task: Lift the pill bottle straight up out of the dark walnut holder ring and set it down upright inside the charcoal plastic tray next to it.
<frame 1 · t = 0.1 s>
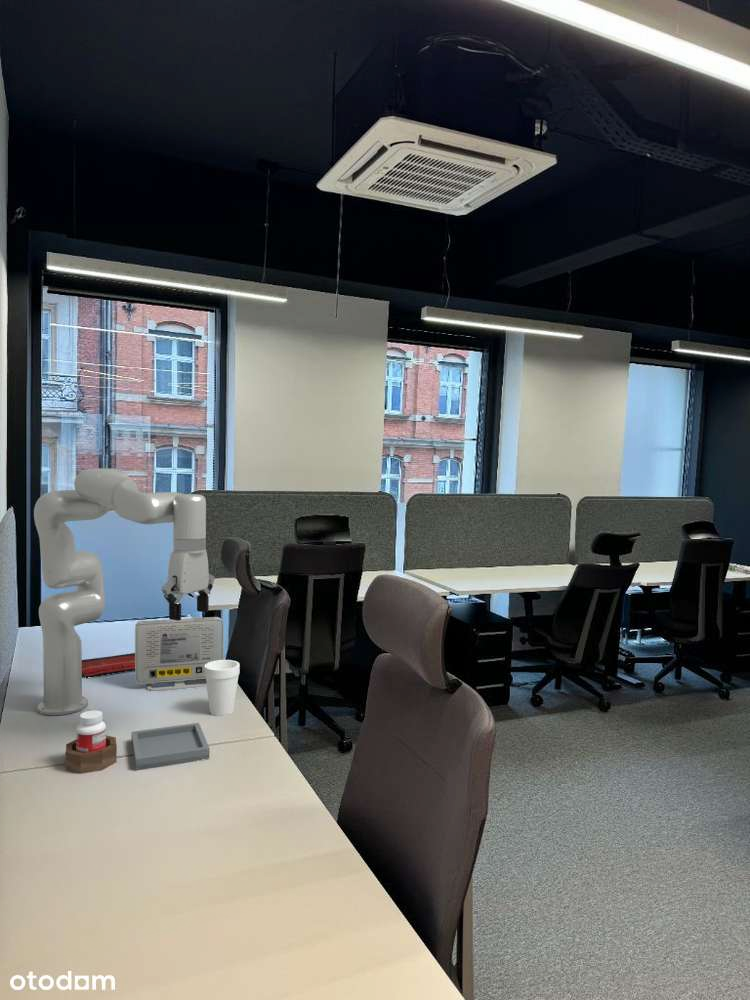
hand: (189, 615, 159), 31 cm above the table, tool pointing down, fingers open, 9 cm apart
tray: (169, 750, 156), on the table
holder ring: (91, 761, 149), on the table
foam cup: (221, 712, 180), on the table
binder: (113, 669, 217), on the table
pill bottle: (91, 762, 149), resting in holder ring
network device: (179, 685, 201), on the table
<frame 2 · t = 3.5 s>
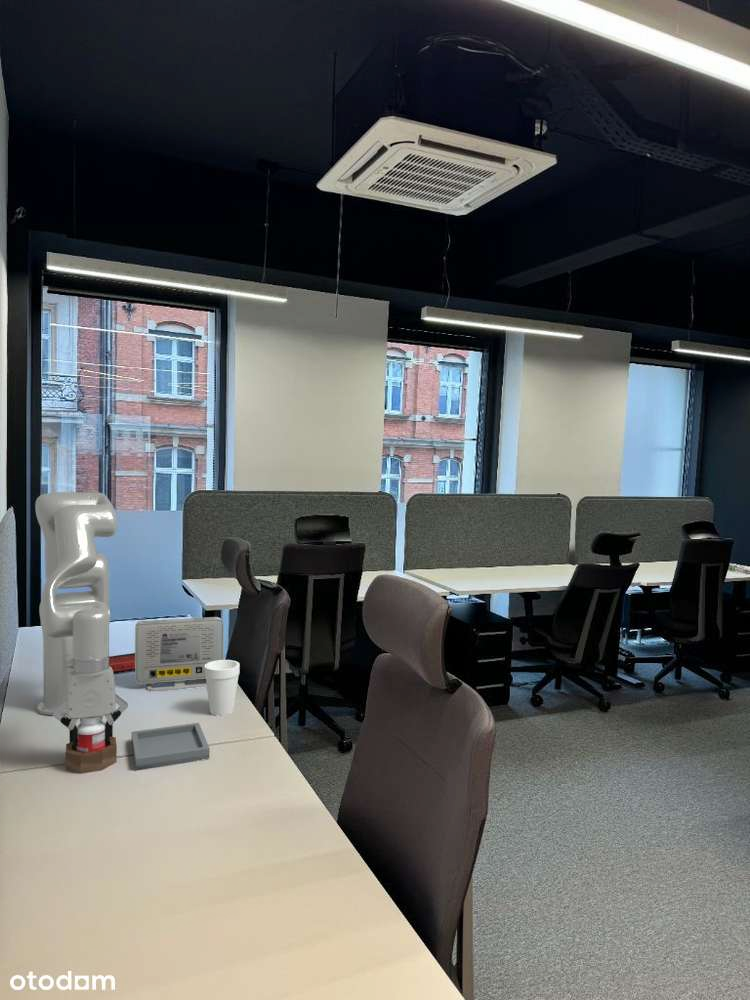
hand: (91, 741, 149), 5 cm above the table, tool pointing down, fingers closed on pill bottle, 6 cm apart
pill bottle: (91, 762, 149), resting in holder ring, touching gripper
everything else where it was.
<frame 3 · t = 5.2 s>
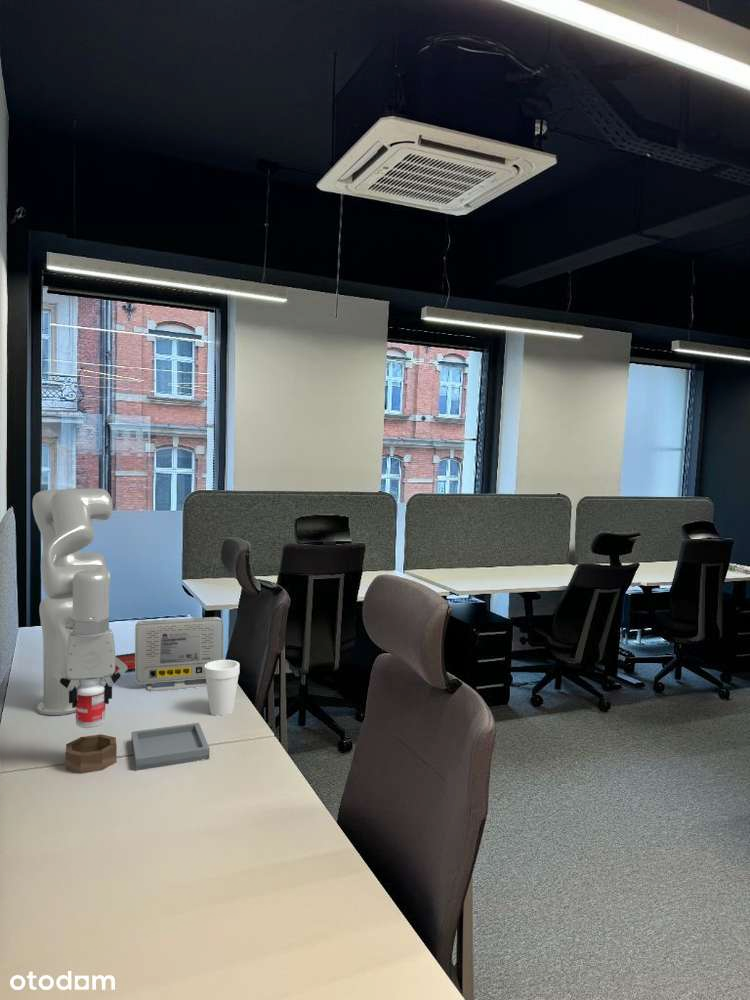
hand: (90, 703, 149), 13 cm above the table, tool pointing down, fingers closed on pill bottle, 6 cm apart
pill bottle: (90, 723, 149), point 8 cm above the table, touching gripper
everything else where it was.
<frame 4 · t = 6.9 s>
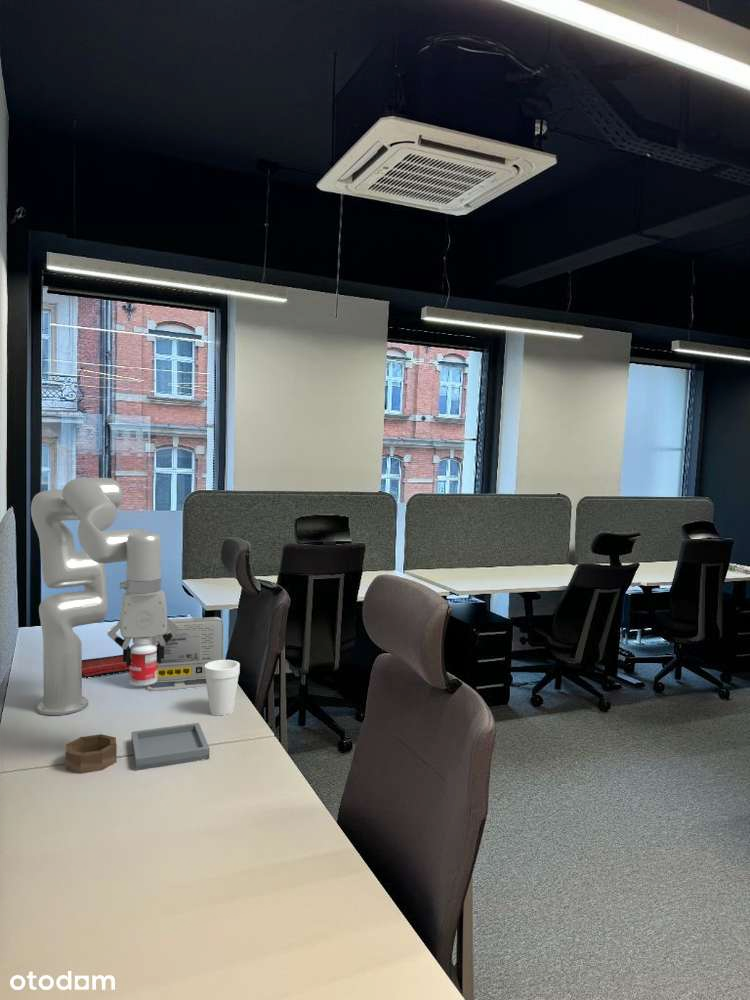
hand: (143, 662, 152), 22 cm above the table, tool pointing down, fingers closed on pill bottle, 6 cm apart
pill bottle: (143, 683, 152), point 17 cm above the table, touching gripper
everything else where it was.
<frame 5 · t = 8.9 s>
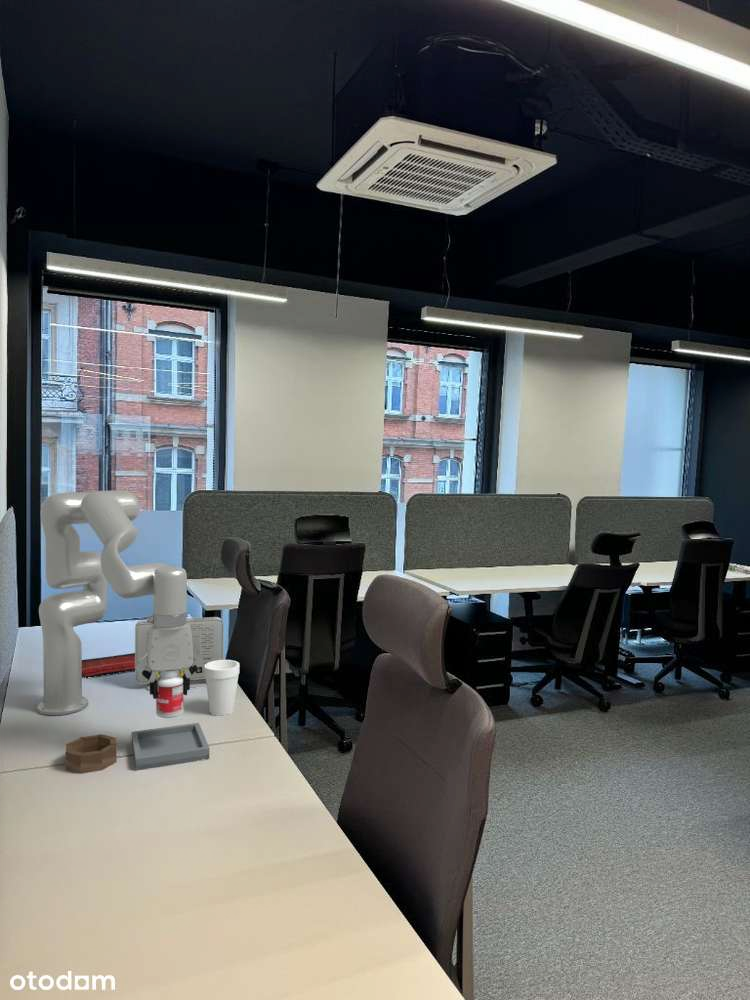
hand: (169, 694, 155), 13 cm above the table, tool pointing down, fingers closed on pill bottle, 6 cm apart
pill bottle: (169, 714, 155), point 9 cm above the table, touching gripper
everything else where it was.
when the fingers open (7 cm above the table, at t = 10.6 s): pill bottle drops 1 cm, resting on tray.
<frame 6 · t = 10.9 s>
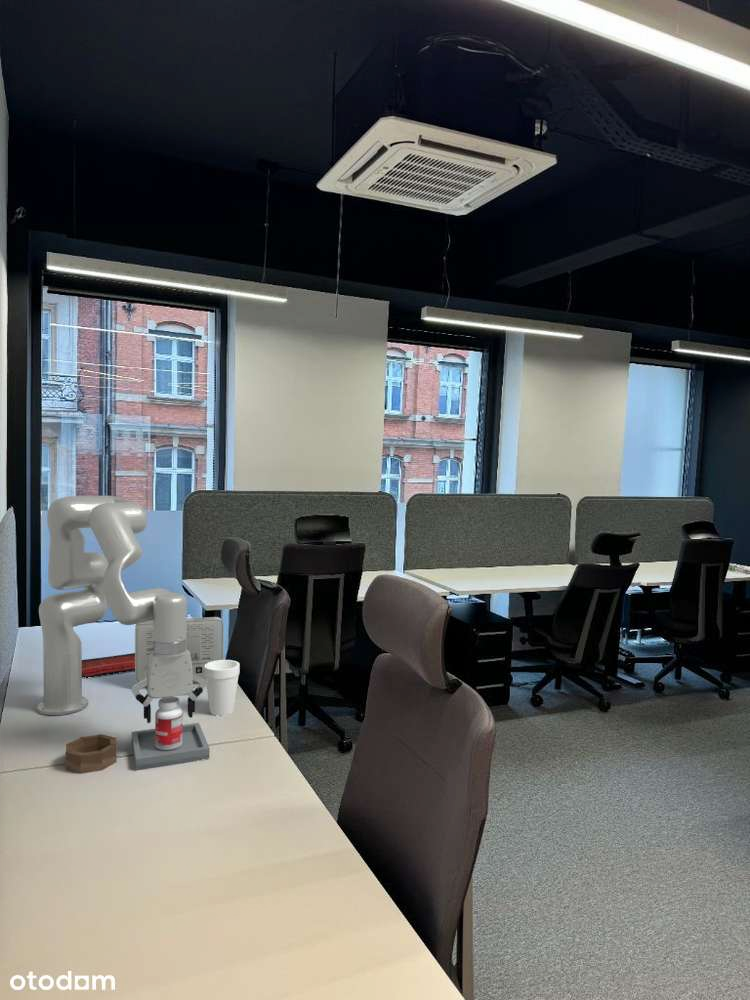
hand: (169, 718, 155), 8 cm above the table, tool pointing down, fingers open, 9 cm apart
pill bottle: (169, 746, 156), point 1 cm above the table, touching tray
everything else where it was.
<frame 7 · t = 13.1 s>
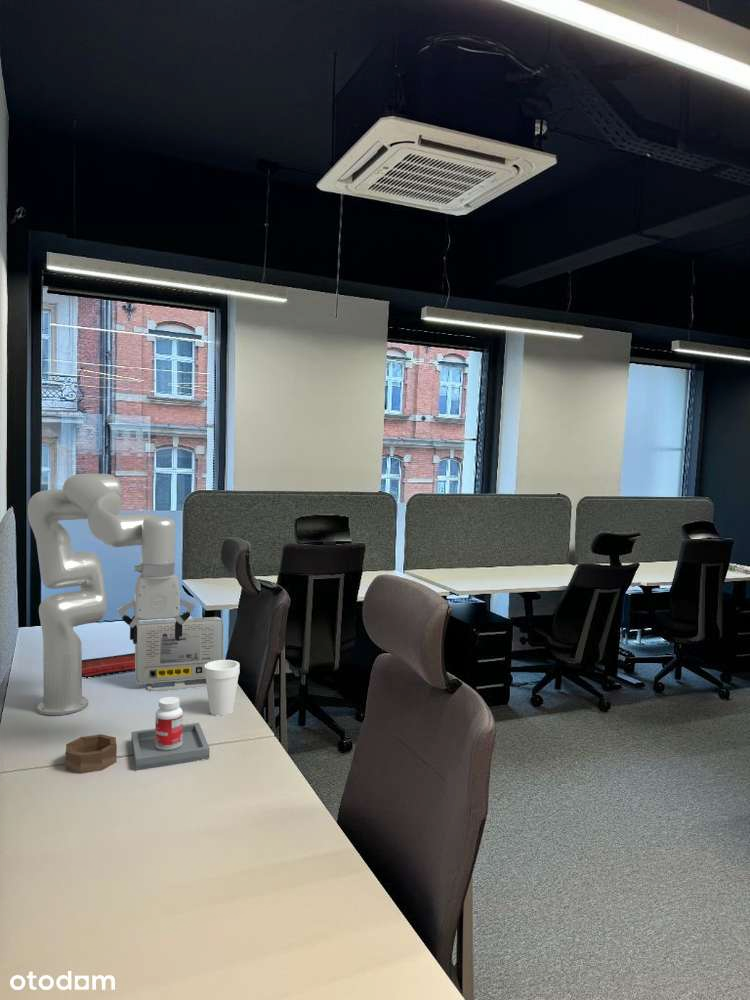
hand: (156, 640, 156), 26 cm above the table, tool pointing down, fingers open, 9 cm apart
nothing on the table moved.
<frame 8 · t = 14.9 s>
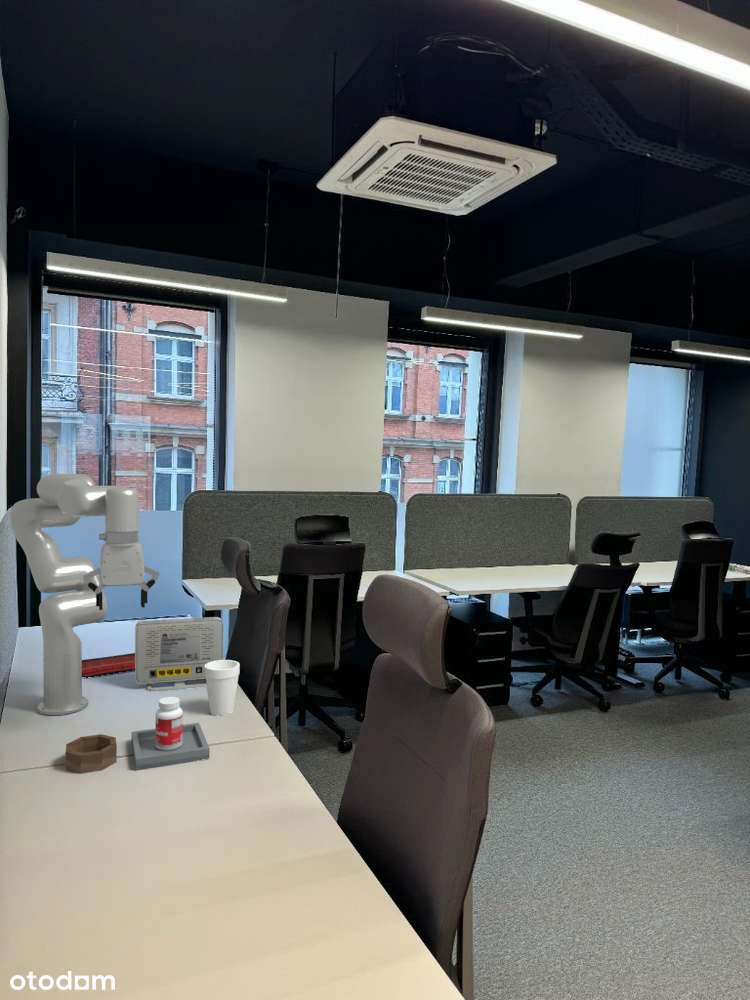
hand: (122, 607, 161), 32 cm above the table, tool pointing down, fingers open, 9 cm apart
nothing on the table moved.
at the end: pill bottle inside the target area on the tray (0.1 cm from its centre), point 0.8 cm above the tray's base; pill bottle tilted 0°; the gripper is holding nothing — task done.
